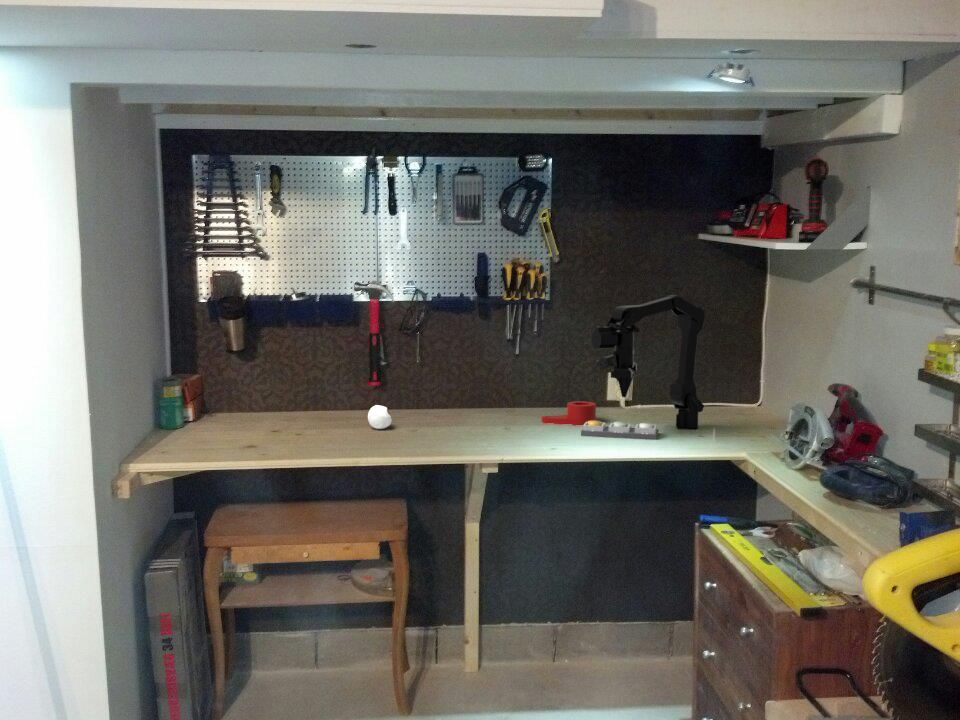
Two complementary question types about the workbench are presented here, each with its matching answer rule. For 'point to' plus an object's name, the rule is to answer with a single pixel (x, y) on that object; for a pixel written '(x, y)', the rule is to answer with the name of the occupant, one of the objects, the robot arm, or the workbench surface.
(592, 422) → the button amber
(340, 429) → the workbench surface
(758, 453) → the workbench surface
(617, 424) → the button sage
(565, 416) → the lever
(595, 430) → the control board
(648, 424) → the button white
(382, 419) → the white rounded piece
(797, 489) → the workbench surface
